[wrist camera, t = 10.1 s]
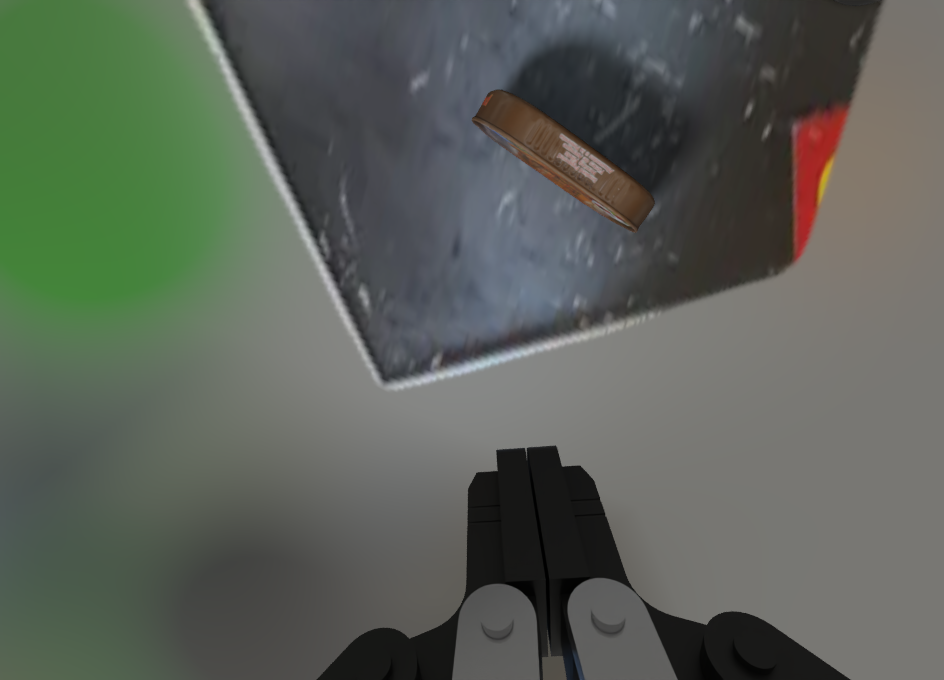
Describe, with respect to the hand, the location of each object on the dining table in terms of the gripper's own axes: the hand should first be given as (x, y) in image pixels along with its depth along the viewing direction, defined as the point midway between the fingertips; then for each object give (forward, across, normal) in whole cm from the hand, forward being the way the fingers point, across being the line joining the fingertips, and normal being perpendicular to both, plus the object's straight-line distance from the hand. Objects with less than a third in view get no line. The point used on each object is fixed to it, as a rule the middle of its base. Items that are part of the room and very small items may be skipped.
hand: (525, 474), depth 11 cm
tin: (+31, -6, -5) cm, 32 cm away
